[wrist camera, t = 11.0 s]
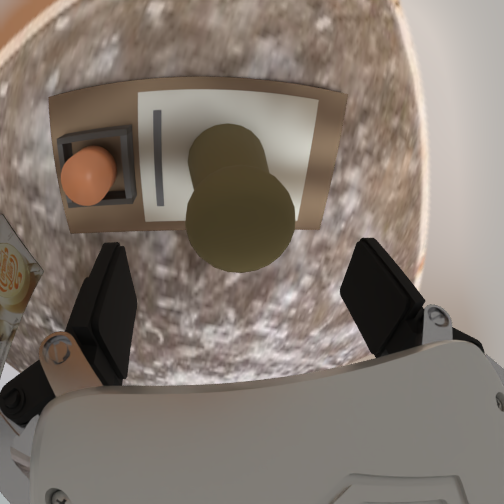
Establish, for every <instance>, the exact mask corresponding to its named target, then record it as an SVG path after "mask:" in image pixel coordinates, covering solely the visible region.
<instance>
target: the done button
mask: <svg viewBox="0 0 504 504" xmlns="http://www.w3.org/2000/svg"><path fill="white" fill-rule="evenodd" d="M116 176H117V166H116V162H115V160H114V158H113V156H112V155H111V154H110V152H109V151H107V150H106V149H104V148H103V147H100V146H94V145H93V146H87V147H85V148H83V149H81V150H80V151H79V152H77V153H76V154H75V155H73V156H72V157H71V158H69V159H68V160H67V161H66V163H65V164H64V166H63V168H62V172H61V184H62V188H63V190H64V192H65V194H66V195H67V196H68V197H69V198H70V199H71V200H72V201H73V202H75V203H77V204H79V205H83V206H91V205H94V204H97V203H98V202H100V201H101V200H102V199H103V198H104V197H105V195H106V194H107V192H108V191H109V190H110V188H111V187H112V185H113V184H114V182H115V180H116Z"/></svg>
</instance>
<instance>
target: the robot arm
mask: <svg viewBox="0 0 504 504" xmlns="http://www.w3.org/2000/svg"><path fill="white" fill-rule="evenodd" d="M340 295H341V297H342V299H343V301H344V303H345V304H346V306H347V308H348V310H349V312H350V314H351V316H352V317H353V319H354V321H355V323H356V325H357V327H358V329H359V331H360V333H361V334H362V336H363V338H364V340H365V342H366V344H367V346H368V348H369V350H370V352H371V353H372V354H374V355H375V357H376V358H375V359H371V360H367V361H363V362H359V363H355V364H350V365H346V366H341V367H337V368H332V369H327V370H322V371H317V372H311V373H305V374H299V375H293V376H287V377H280V378H272V379H264V380H256V381H246V382H236V383H223V384H207V385H179V386H122V381H123V379H126V378H127V373H128V364H129V356H130V348H131V341H132V334H133V327H134V321H135V315H136V309H137V298H136V294H135V290H134V286H133V282H132V278H131V274H130V270H129V265H128V261H127V256H126V251H125V248H124V246H120V244H119V243H118V242H113V243H104V244H103V246H102V248H101V251H100V253H99V255H98V257H97V259H96V262H95V264H94V266H93V269H92V271H91V273H90V276H89V277H87V278H86V279H85V280H84V282H83V284H82V287H81V289H80V292H79V294H78V297H77V299H76V302H75V305H74V307H73V310H72V313H71V316H70V319H69V321H68V324H67V327H66V330H65V332H63V331H59V332H54V333H52V334H50V335H48V336H47V337H46V338H45V339H44V340H43V341H42V343H41V345H40V347H39V353H38V355H39V360H38V361H37V362H35V363H34V364H33V365H31V366H30V367H28V368H27V369H26V370H24V371H23V372H22V373H20V374H19V375H17V376H16V377H15V378H14V379H12V380H11V381H9V382H8V383H7V384H6V385H5V386H4V387H3V388H2V390H1V392H0V492H1V493H2V494H3V496H4V497H5V498H6V499H7V500H8V501H9V502H10V504H504V369H503V368H502V367H501V366H499V365H498V364H497V363H496V362H495V361H494V360H492V359H491V358H490V357H489V356H488V355H487V354H486V355H485V354H484V349H483V347H482V344H481V343H480V342H479V341H478V340H476V339H475V338H473V337H471V336H469V335H467V334H465V333H463V332H461V331H459V330H457V329H455V328H453V327H452V321H451V318H450V316H449V314H448V313H447V312H446V311H445V310H444V309H443V308H441V307H439V306H437V305H431V304H430V305H427V306H426V307H425V309H423V307H422V306H423V304H424V303H425V299H424V298H423V297H422V295H421V294H420V293H419V291H418V290H417V289H416V288H415V286H414V285H413V284H412V282H411V281H410V280H409V279H408V277H407V276H406V275H405V274H404V272H403V271H402V270H401V269H400V267H399V266H398V265H397V264H396V263H395V261H394V260H393V259H392V258H391V257H390V255H389V254H388V253H387V252H386V251H385V250H384V248H383V247H382V246H381V245H380V244H379V243H378V241H377V240H376V239H374V238H361V239H360V241H359V242H357V244H356V246H355V249H354V252H353V255H352V258H351V261H350V263H349V266H348V269H347V272H346V274H345V277H344V280H343V282H342V285H341V288H340Z"/></svg>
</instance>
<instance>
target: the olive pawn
mask: <svg viewBox="0 0 504 504" xmlns="http://www.w3.org/2000/svg"><path fill="white" fill-rule="evenodd" d="M188 167H189V172H190V176H191V181H192V185H193V189H194V191H193V193H192V195H191V197H190V199H189V201H188V204H187V211H186V220H185V227H186V230H187V234H188V238H189V241H190V243H191V245H192V247H193V248H194V250H195V251H196V253H197V254H198V255H199V257H201V258H202V259H204V260H205V261H206V262H208V263H209V264H211V265H212V266H213V267H215V268H218V269H221V270H224V271H227V272H236V273H244V272H250V271H256V270H258V269H260V268H263V267H265V266H267V265H269V264H271V263H272V262H273V261H275V260H276V259H277V258H279V257H280V256H281V254H282V253H283V252H284V250H285V249H286V248H287V246H288V245H289V243H290V241H291V238H292V236H293V233H294V230H295V207H294V204H293V202H292V199H291V197H290V194H289V192H288V191H287V189H286V188H285V187H284V186H283V185H282V183H281V182H280V181H279V180H278V179H277V178H276V177H275V176H273V175H272V174H270V173H269V169H268V164H267V160H266V156H265V152H264V149H263V146H262V144H261V142H260V140H259V139H258V137H257V136H256V135H255V134H254V133H253V132H252V131H250V130H249V129H247V128H245V127H243V126H241V125H236V124H229V123H227V124H220V125H215V126H213V127H210V128H208V129H206V130H204V131H203V132H202V133H201V134H200V135H199V136H198V137H197V138H196V139H195V140H194V142H193V144H192V146H191V148H190V150H189V155H188Z"/></svg>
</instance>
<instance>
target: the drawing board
mask: <svg viewBox="0 0 504 504" xmlns="http://www.w3.org/2000/svg"><path fill="white" fill-rule="evenodd" d="M347 98H348V94H344V93H340V92H335V91H331V90H326V89H321V88H316V87H311V86H305V85H299V84H293V83H286V82H278V81H270V80H261V79H249V78H235V77H167V78H152V79H141V80H132V81H124V82H117V83H110V84H104V85H99V86H93V87H88V88H83V89H79V90H74V91H70V92H66V93H62V94H58V95H54V96H51V97H49V115H50V128H51V138H52V146H53V153H54V160H55V167H56V172H57V178H58V183H59V188H60V193H61V198H62V202H63V206H64V210H65V214H66V218H67V222H68V226H69V230H70V233H71V234H74V233H97V232H125V231H161V230H186V227H185V220H186V211H187V204H188V201H189V199H190V197H191V195H192V193H193V191H194V189H193V185H192V181H191V176H190V172H189V167H188V155H189V150H190V148H191V146H192V144H193V142H194V140H195V139H196V138H197V137H198V136H199V135H200V134H201V133H202V132H203V131H204V130H206V129H208V128H210V127H213V126H215V125H220V124H227V123H229V124H236V125H241V126H243V127H245V128H247V129H249V130H250V131H252V132H253V133H254V134H255V135H256V136H257V137H258V139H259V140H260V142H261V144H262V146H263V149H264V152H265V156H266V160H267V164H268V169H269V173H270V174H272V175H273V176H275V177H276V178H277V179H278V180H279V181H280V182H281V183H282V185H283V186H284V187H285V188H286V189H287V191H288V192H289V194H290V197H291V199H292V202H293V204H294V207H295V229H298V230H319V229H320V225H321V221H322V217H323V213H324V209H325V205H326V201H327V197H328V193H329V188H330V184H331V180H332V175H333V170H334V166H335V161H336V156H337V152H338V147H339V142H340V137H341V131H342V126H343V121H344V115H345V110H346V104H347ZM93 145H94V146H100V147H103V148H104V149H106V150H107V151H109V152H110V154H111V155H112V156H113V158H114V160H115V162H116V166H117V176H116V180H115V182H114V184H113V185H112V187H111V188H110V190H109V191H108V192H107V194H106V195H105V197H104V198H103V199H102V200H101V201H100V202H98V203H97V204H94V205H91V206H83V205H79V204H77V203H75V202H73V201H72V200H71V199H70V198H69V197H68V196H67V195H66V194H65V192H64V190H63V188H62V184H61V172H62V168H63V166H64V164H65V163H66V161H67V160H68V159H69V158H71V157H72V156H73V155H75V154H76V153H77V152H79V151H80V150H81V149H83V148H85V147H87V146H93Z"/></svg>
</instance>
